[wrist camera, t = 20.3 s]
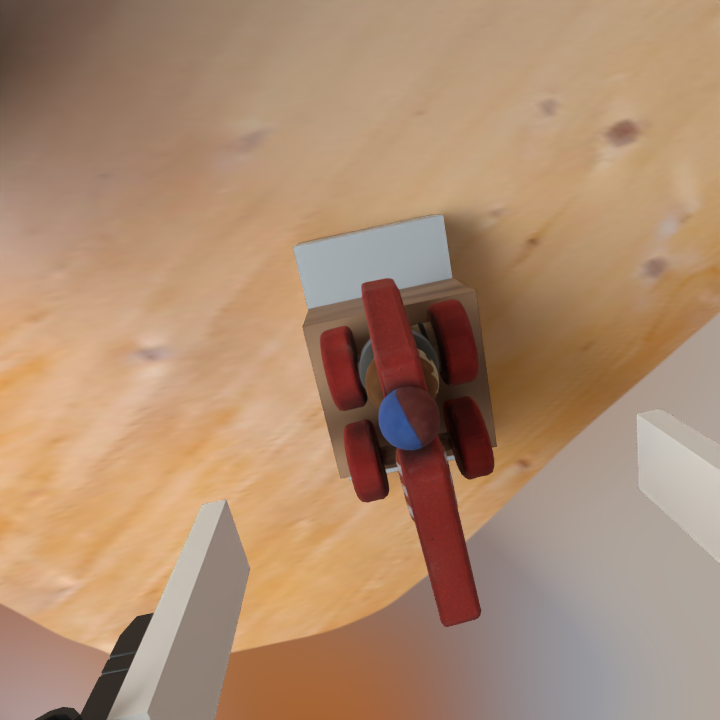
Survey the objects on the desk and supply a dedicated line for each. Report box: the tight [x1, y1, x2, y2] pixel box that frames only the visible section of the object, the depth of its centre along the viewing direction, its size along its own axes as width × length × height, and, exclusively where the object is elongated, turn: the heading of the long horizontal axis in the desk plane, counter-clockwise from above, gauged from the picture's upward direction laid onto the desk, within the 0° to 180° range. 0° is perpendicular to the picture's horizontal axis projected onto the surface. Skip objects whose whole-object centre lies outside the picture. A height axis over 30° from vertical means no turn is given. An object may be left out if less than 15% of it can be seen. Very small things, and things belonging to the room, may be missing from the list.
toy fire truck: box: [320, 278, 494, 627], centre depth 20 cm, size 7×12×10 cm, turn 13°
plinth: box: [293, 215, 455, 481], centre depth 32 cm, size 16×9×4 cm, turn 12°
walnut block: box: [303, 278, 497, 478], centre depth 28 cm, size 9×9×5 cm
